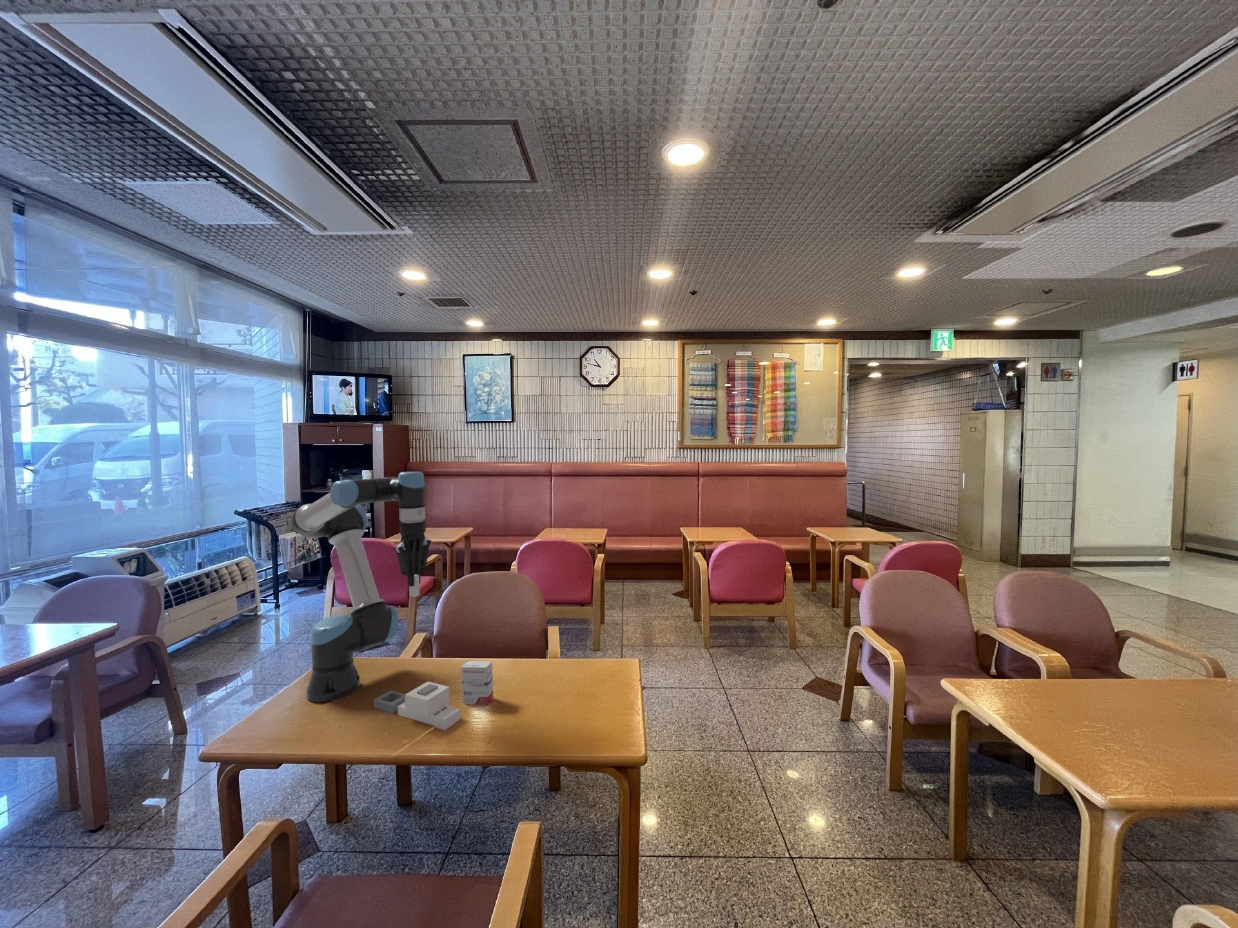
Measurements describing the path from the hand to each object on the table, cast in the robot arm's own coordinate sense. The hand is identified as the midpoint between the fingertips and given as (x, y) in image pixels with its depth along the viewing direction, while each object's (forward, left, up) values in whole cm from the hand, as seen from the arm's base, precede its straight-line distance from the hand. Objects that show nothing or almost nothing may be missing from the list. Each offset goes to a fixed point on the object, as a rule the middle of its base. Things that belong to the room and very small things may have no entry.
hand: (414, 595), depth 156 cm
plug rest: (-2, -8, -32) cm, 33 cm away
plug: (+13, -8, -32) cm, 35 cm away
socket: (+13, -8, -32) cm, 36 cm away
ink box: (+20, +5, -33) cm, 39 cm away
